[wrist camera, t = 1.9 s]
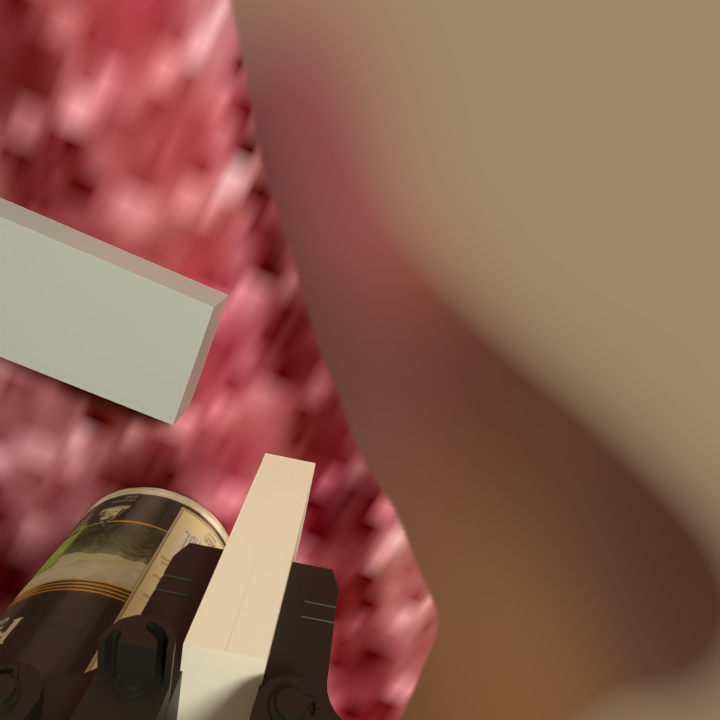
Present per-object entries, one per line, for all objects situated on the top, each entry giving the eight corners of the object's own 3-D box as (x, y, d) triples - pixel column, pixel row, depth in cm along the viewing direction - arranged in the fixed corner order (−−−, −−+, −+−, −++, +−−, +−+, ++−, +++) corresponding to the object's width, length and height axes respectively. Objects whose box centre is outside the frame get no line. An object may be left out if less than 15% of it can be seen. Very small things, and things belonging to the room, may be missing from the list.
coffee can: (53, 567, 34) (-152, 816, 21) (119, 456, 31) (-75, 667, 18) (191, 638, 36) (79, 909, 23) (266, 539, 33) (187, 787, 20)
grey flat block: (-47, 305, 29) (-94, 319, 26) (-28, 182, 26) (-77, 184, 24) (192, 401, 30) (172, 425, 27) (230, 293, 28) (214, 307, 25)
